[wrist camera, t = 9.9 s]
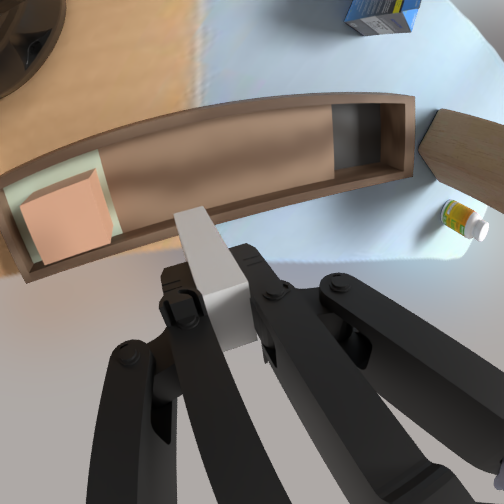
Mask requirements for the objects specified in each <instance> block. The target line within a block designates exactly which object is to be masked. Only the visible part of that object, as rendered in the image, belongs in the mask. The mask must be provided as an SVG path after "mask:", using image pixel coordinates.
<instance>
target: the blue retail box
mask: <svg viewBox="0 0 504 504" xmlns="http://www.w3.org/2000/svg"><path fill="white" fill-rule="evenodd" d="M420 3H421V0H353V2H352V4H351V7H350V9H349V11H348V14H347V16H346V18H345V21H344V22H345V23H346V24H348V25H349V26H350V27H352V28H353V29H355V30H356V31H358V32H359V33H360V34H362V35H363V36H372V35H380V34H393V33H409V32H412V29H413V25H414V22H415V19H416V15H417V12H418V9H419V8H420Z"/></svg>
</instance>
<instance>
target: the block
mask: <svg viewBox="0 0 504 504" xmlns="http://www.w3.org/2000/svg"><path fill="white" fill-rule="evenodd" d="M418 151H419V154H420V155H421V156H422V158H423V159H424V161H425V162H426V164H427V165H428V166H429V168H430V169H431V171H432V172H433V174H434V175H435V177H436V178H437V180H438V181H439V182H441V183H444V184H446V185H448V186H450V187H452V188H454V189H456V190H459V191H461V192H463V193H465V194H467V195H469V196H471V197H473V198H475V199H477V200H479V201H481V202H483V203H484V204H486V205H488V206H490V207H492V208H494V209H496V210H497V211H499V212H501V213H503V214H504V125H501V124H498V123H495V122H492V121H489V120H485V119H482V118H479V117H475V116H471V115H468V114H464V113H460V112H456V111H451V110H447V109H440V110H438V112H437V114H436V116H435V118H434V120H433V122H432V124H431V125H430V127H429V129H428V131H427V133H426V135H425V137H424V138H423V140H422V142H421V144H420V146H419V149H418Z"/></svg>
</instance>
